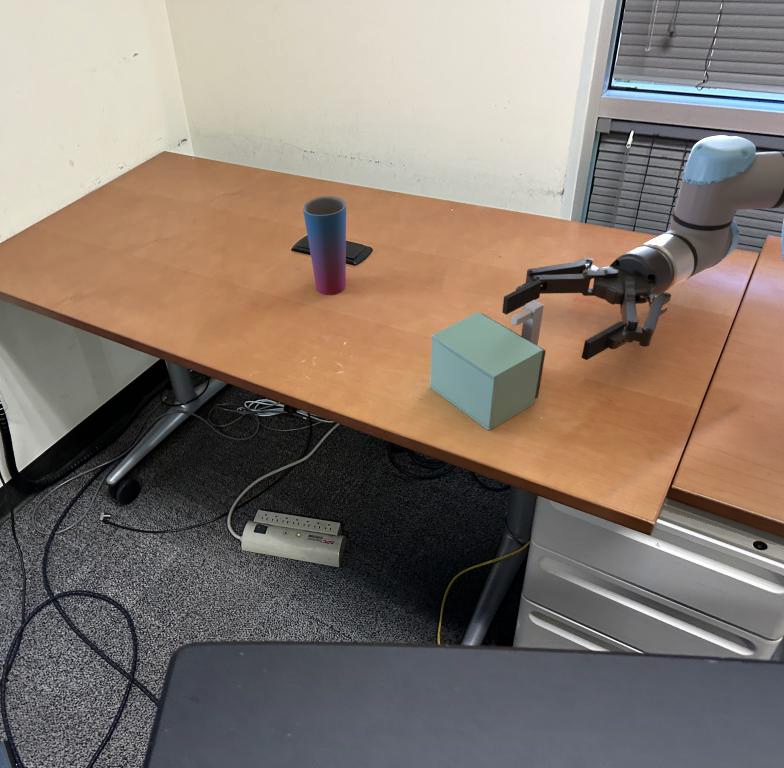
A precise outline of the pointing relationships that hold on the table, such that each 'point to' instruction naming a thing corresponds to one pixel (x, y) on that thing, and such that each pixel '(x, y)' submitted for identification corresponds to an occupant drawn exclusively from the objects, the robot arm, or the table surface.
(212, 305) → the table surface
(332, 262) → the cup
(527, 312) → the dark grey drawer
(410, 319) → the table surface
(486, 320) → the box
